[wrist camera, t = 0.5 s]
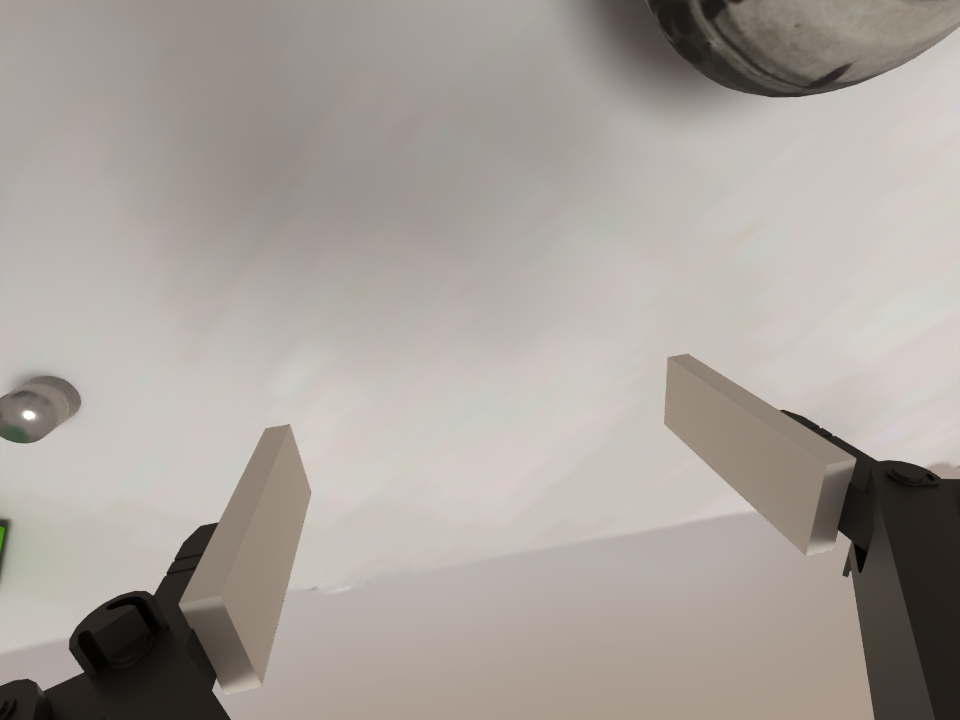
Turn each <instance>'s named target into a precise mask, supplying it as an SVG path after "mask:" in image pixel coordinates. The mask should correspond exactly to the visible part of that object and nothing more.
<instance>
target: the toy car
mask: <svg viewBox="0 0 960 720" xmlns="http://www.w3.org/2000/svg"><path fill="white" fill-rule="evenodd" d="M4 530H5V527H0V552H1V547H2V541H3V535H4Z"/></svg>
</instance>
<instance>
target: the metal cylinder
mask: <svg viewBox="0 0 960 720" xmlns="http://www.w3.org/2000/svg"><path fill="white" fill-rule="evenodd" d="M80 405H81V399H80V395H79V393H78V391H77V390H76V389H75V388H74V387H73V386H72V385H71V384H70V383H68V382H67V381H65V380H63V379H60V378H57V377H53V376H42V377H38V378H35V379H33V380H31V381H29V382H28V383H26V384H24V385H22V386H21V387H19V388H17V389H15V390H14V391H12V392H10V393H8V394H6V395H5V396H3V397H1V398H0V436H1V437H2V438H4V439H6V440H9V441H12V442H16V443H32V442H36V441H38V440H40V439H42V438H43V437H45V436H46V435H47V434H49V433H50V432H51V431H53V430H54V429H55V428H57V427H58V426H59V425H61V424H62V423H63V422H65V421H66V420H67V419H69V418H70V417H71V416H73V415H74V414H75V413H76V412H77V411H78V410H79V408H80Z"/></svg>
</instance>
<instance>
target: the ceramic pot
mask: <svg viewBox="0 0 960 720" xmlns="http://www.w3.org/2000/svg"><path fill="white" fill-rule="evenodd" d="M644 1H645V3H646V5H647V7H648V9H649V10H650V12H651V14H652V16H653V18H654V20H655V21H656V22H657V24H658V25H659V27H660V28H661V30H662V31H663V33H664V35H665V36H666V38H667V39H668V41H669V42H670V43H671V45H672V46H673V47H674V48H675V50H676V51H677V52H678V53H679V54H680V55H681V56H682V57H683V58H684V59H685V60H686V61H688V62H689V63H690V64H691V65H692V66H694V67H695V68H696V69H697V70H699V71H700V72H701V73H702V74H704V75H705V76H706V77H708V78H710V79H711V80H713V81H715V82H717V83H718V84H720V85H722V86H725V87H727V88H730V89H734V90H737V91H741V92H744V93H750V94H756V95H762V96H768V97H801V96H808V95H814V94H821V93H826V92H830V91H835V90H838V89H842V88H845V87H849V86H852V85H856V84H859V83H861V82H864V81H866V80H868V79H871V78H873V77H876V76H878V75H880V74H883V73H885V72H887V71H890V70H892V69H894V68H896V67H899V66H901V65H903V64H905V63H906V62H908V61H910V60H912V59H914V58H916V57H917V56H919V55H920V54H922V53H923V52H925V51H926V50H928V49H929V48H931V47H932V46H934V45H935V44H937V43H938V42H940V41H941V40H943V39H944V38H945V37H946V36H948V35H949V34H950V33H952V32H953V31H954V30H956V29H957V28H958V27H960V0H644Z"/></svg>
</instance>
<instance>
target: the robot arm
mask: <svg viewBox="0 0 960 720" xmlns="http://www.w3.org/2000/svg"><path fill="white" fill-rule="evenodd" d="M664 424H665V425H666V426H667V427H668V428H669V429H670V430H671V431H672V432H673V433H675V434H676V435H677V436H678V437H679V438H680V439H681V440H682V441H683V442H684V443H685V444H686V445H687V446H688V447H690V448H691V449H692V450H693V451H694V452H695V453H696V454H697V455H698V456H699V457H700V458H701V459H702V460H703V461H705V462H706V463H707V464H708V465H709V466H710V467H711V468H712V469H713V470H714V471H715V472H716V473H717V474H719V475H720V476H721V477H722V478H723V479H724V480H725V481H726V482H727V483H728V484H729V485H730V486H731V487H732V488H734V489H735V490H736V491H737V492H738V493H739V494H740V495H741V496H742V497H743V498H744V499H745V500H746V501H747V502H749V503H750V504H751V505H752V506H753V507H754V508H755V509H756V510H757V511H758V512H759V513H760V514H761V515H762V516H764V517H765V518H766V519H767V520H768V521H769V522H770V523H771V524H772V525H773V526H774V527H775V528H776V529H778V530H779V531H780V532H781V533H782V534H783V535H784V536H785V537H786V538H787V539H788V540H789V541H790V542H791V543H792V544H794V545H795V546H796V547H797V548H798V549H799V550H800V551H801V552H802V553H803V554H804V555H806V556H808V555H812V554H817V553H821V552H825V551H829V550H833V549H834V545H835V541H836V537H837V533H838V530H839V531H840V532H842V533H843V534H844V535H845V536H846V537H848V538H849V539H850V540H851V545H850V548H849V552H848V556H847V559H846V563H845V567H844V571H843V576H846V577H848V575H849V572H850V571H852V577H853V584H854V590H855V597H856V603H857V609H858V615H859V622H860V629H861V635H862V641H863V648H864V654H865V660H866V667H867V674H868V680H869V686H870V693H871V699H872V706H873V712H874V718H875V720H960V479H941V478H940V477H939V476H937V475H936V474H934V473H932V472H931V471H929V470H927V469H925V468H922V467H920V466H917V465H914V464H910V463H906V462H902V461H892V460H886V461H876V460H875V459H873V458H871V457H870V456H868V455H866V454H865V453H863V452H861V451H860V450H858V449H856V448H855V447H853V446H851V445H850V444H848V443H846V442H845V441H843V440H841V439H840V438H838V437H836V436H832V434H831V433H830V432H828V431H826V430H825V429H823V428H819V426H818V425H816V424H815V423H813V422H811V421H810V420H808V419H806V418H805V417H803V416H800V415H797V414H794V413H791V412H789V411H786V410H777V409H776V408H774V407H773V406H771V405H769V404H768V403H766V402H765V401H763V400H761V399H760V398H758V397H757V396H755V395H753V394H752V393H750V392H748V391H747V390H745V389H744V388H742V387H740V386H739V385H737V384H736V383H734V382H732V381H731V380H729V379H728V378H726V377H724V376H723V375H721V374H719V373H718V372H716V371H715V370H713V369H711V368H710V367H708V366H707V365H705V364H703V363H702V362H700V361H699V360H697V359H695V358H694V357H692V356H690V355H689V354H684V355H678V356H672V357H668V363H667V380H666V398H665V416H664ZM310 496H311V490H310V487H309V483H308V480H307V477H306V474H305V471H304V468H303V464H302V461H301V458H300V455H299V452H298V448H297V445H296V442H295V439H294V436H293V432H292V429H291V426H290V424H288V425H283V426H277V427H271V428H266V429H265V431H264V433H263V435H262V437H261V439H260V441H259V443H258V445H257V447H256V449H255V451H254V453H253V455H252V457H251V459H250V461H249V463H248V465H247V467H246V469H245V471H244V473H243V475H242V477H241V479H240V481H239V483H238V485H237V487H236V489H235V491H234V493H233V495H232V497H231V499H230V501H229V503H228V505H227V507H226V509H225V511H224V513H223V515H222V517H221V519H220V521H219V522H218V523H213V524H208V525H203V526H200V527H199V528H198V529H197V530H196V531H195V532H194V533H193V534H192V535H191V536H190V537H189V538H188V539H187V540H186V541H185V542H184V543H183V545H182V546H181V548H180V550H179V552H178V553H177V555H176V557H175V562H172V564H171V566H170V568H169V569H168V571H167V576H165V577H164V578H163V580H162V582H161V584H160V585H159V587H158V589H157V591H156V592H155V594H154V596H153V595H151V594H150V593H148V592H147V591H133V592H129V593H126V594H122V595H119V596H117V597H115V598H113V599H111V600H109V601H107V602H105V603H104V604H102V605H101V606H100V607H98V608H97V609H95V610H94V611H93V612H91V613H90V614H89V615H88V616H87V617H86V618H85V619H84V620H83V621H82V622H81V623H80V624H79V625H78V626H77V627H76V629H75V631H74V632H73V634H72V636H71V638H70V640H69V650H70V652H71V653H72V654H73V656H74V657H75V659H76V660H77V662H78V663H79V665H80V666H81V668H82V669H83V670H84V673H82V674H80V675H77V676H75V677H73V678H71V679H69V680H67V681H65V682H62V683H60V684H58V685H56V686H54V687H52V688H49V689H47V690H45V691H42V690H41V689H40V687H39V686H38V684H37V683H36V682H33V681H31V680H29V679H23V680H15V681H12V682H9V683H7V684H4V685H2V686H0V720H231V719H230V718H229V716H228V715H227V713H226V712H225V710H224V709H223V707H222V705H221V704H220V702H219V701H218V699H217V698H216V696H215V695H214V693H213V692H212V689H213V686H214V683H215V680H216V679H217V680H218V682H219V684H220V686H221V688H222V690H223V692H224V694H225V695H228V694H232V693H236V692H240V691H244V690H249V689H253V688H257V687H261V686H262V683H263V680H264V676H265V672H266V668H267V664H268V660H269V657H270V653H271V648H272V645H273V640H274V637H275V633H276V629H277V625H278V621H279V617H280V613H281V609H282V605H283V601H284V597H285V594H286V590H287V586H288V582H289V578H290V574H291V570H292V566H293V562H294V558H295V554H296V551H297V547H298V543H299V539H300V535H301V531H302V527H303V523H304V519H305V515H306V511H307V507H308V503H309V499H310Z"/></svg>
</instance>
